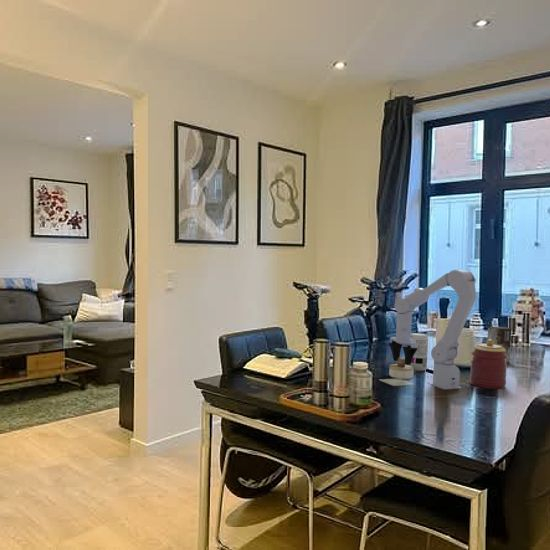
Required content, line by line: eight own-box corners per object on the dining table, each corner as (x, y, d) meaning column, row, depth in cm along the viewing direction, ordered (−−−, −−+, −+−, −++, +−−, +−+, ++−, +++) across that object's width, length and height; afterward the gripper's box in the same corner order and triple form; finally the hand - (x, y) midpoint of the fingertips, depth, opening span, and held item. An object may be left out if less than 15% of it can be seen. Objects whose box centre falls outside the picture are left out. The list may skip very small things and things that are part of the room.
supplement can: (404, 369, 224) (406, 334, 223) (409, 366, 231) (411, 332, 231) (424, 372, 220) (426, 336, 220) (428, 368, 227) (430, 334, 227)
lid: (414, 371, 204) (415, 361, 204) (391, 370, 205) (392, 360, 205) (410, 366, 213) (410, 357, 213) (387, 365, 214) (388, 355, 214)
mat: (414, 385, 196) (414, 384, 196) (393, 386, 193) (393, 385, 193) (399, 379, 205) (399, 378, 205) (378, 380, 201) (378, 379, 201)
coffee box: (505, 360, 255) (507, 326, 255) (509, 362, 249) (511, 328, 248) (485, 358, 256) (487, 325, 256) (489, 361, 250) (491, 327, 249)
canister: (462, 383, 203) (465, 338, 202) (480, 379, 211) (482, 335, 210) (495, 391, 193) (498, 343, 192) (512, 386, 201) (515, 340, 200)
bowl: (417, 379, 207) (418, 370, 207) (398, 380, 203) (399, 371, 203) (403, 374, 215) (404, 365, 215) (385, 375, 212) (385, 366, 212)
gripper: (423, 331, 203) (421, 366, 204) (401, 325, 217) (399, 358, 217) (408, 331, 201) (406, 366, 201) (386, 326, 214) (384, 359, 215)
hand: (401, 362), depth 209 cm, fingers open, 7 cm apart
